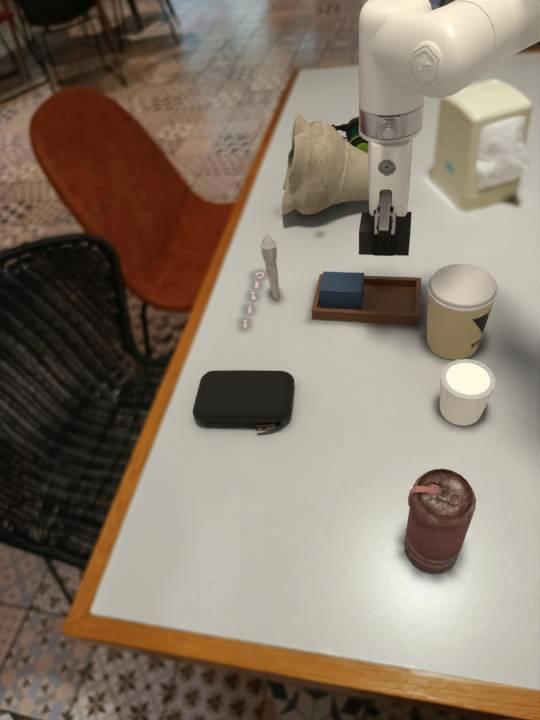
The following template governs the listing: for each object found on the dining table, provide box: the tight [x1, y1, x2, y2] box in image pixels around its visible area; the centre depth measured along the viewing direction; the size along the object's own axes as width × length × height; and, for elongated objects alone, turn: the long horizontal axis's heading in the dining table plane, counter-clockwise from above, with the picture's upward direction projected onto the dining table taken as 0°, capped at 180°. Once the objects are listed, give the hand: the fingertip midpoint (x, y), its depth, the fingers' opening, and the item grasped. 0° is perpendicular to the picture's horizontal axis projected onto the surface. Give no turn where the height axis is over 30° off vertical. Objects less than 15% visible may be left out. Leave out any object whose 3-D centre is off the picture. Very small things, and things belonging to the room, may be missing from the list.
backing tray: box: [310, 273, 422, 326], centre depth 90 cm, size 18×10×2 cm, turn 78°
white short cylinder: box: [439, 358, 497, 427], centre depth 71 cm, size 7×7×7 cm
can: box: [404, 468, 477, 574], centre depth 57 cm, size 6×6×14 cm
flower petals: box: [243, 271, 265, 329], centre depth 95 cm, size 15×2×1 cm, turn 170°
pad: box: [358, 211, 412, 257], centre depth 75 cm, size 7×5×4 cm
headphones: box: [330, 116, 368, 153], centre depth 121 cm, size 16×10×20 cm
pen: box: [259, 233, 280, 301], centre depth 89 cm, size 2×3×14 cm
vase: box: [281, 112, 369, 216], centre depth 104 cm, size 22×22×28 cm
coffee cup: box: [426, 263, 499, 361], centre depth 78 cm, size 9×9×12 cm
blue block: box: [319, 271, 365, 310], centre depth 90 cm, size 7×5×4 cm
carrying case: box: [192, 369, 295, 432], centre depth 78 cm, size 11×3×15 cm
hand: (385, 241), depth 76 cm, fingers closed on pad, 5 cm apart
